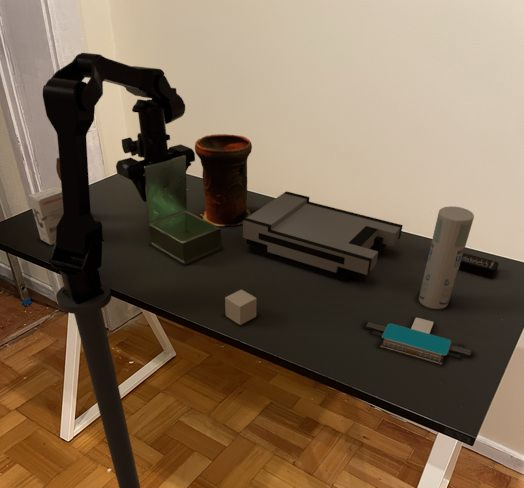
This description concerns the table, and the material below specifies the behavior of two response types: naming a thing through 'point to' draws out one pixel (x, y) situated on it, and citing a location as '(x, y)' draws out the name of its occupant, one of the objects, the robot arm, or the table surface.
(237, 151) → the vessel
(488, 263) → the multiport hub
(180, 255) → the storage tray
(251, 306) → the white block
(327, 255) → the game console
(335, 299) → the table surface
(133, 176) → the robot arm
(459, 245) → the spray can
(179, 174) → the box lid
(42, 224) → the ink box
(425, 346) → the teal block with rod
